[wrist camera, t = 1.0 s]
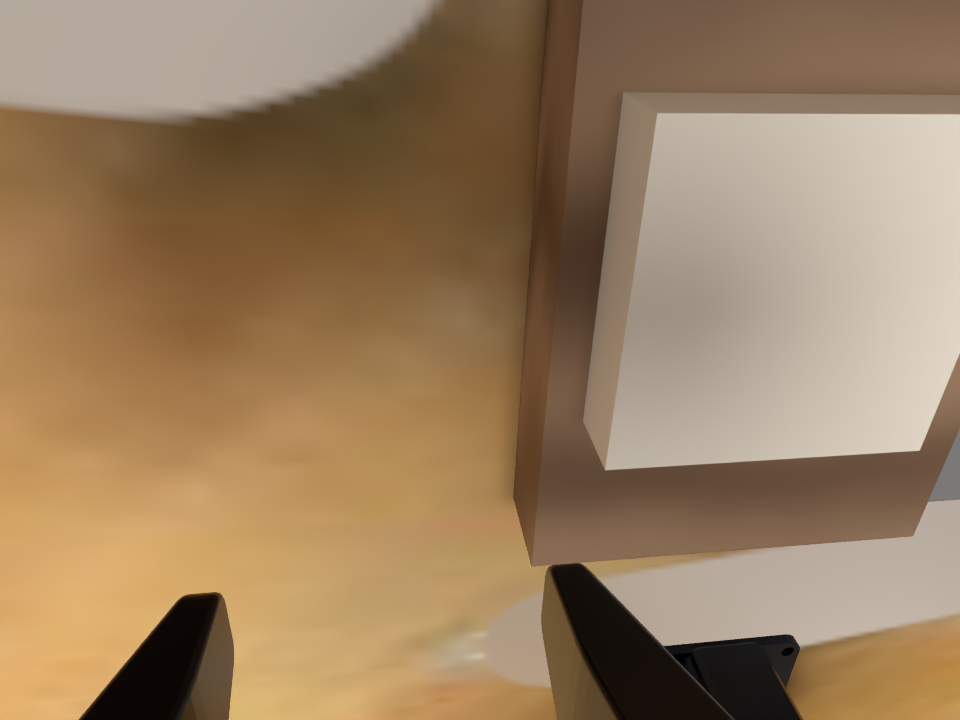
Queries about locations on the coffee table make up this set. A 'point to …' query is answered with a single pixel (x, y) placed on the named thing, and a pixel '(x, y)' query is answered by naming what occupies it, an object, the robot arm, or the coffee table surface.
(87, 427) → the coffee table surface
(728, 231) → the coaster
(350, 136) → the coffee table surface
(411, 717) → the coffee table surface
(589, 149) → the walnut board
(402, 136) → the coffee table surface
